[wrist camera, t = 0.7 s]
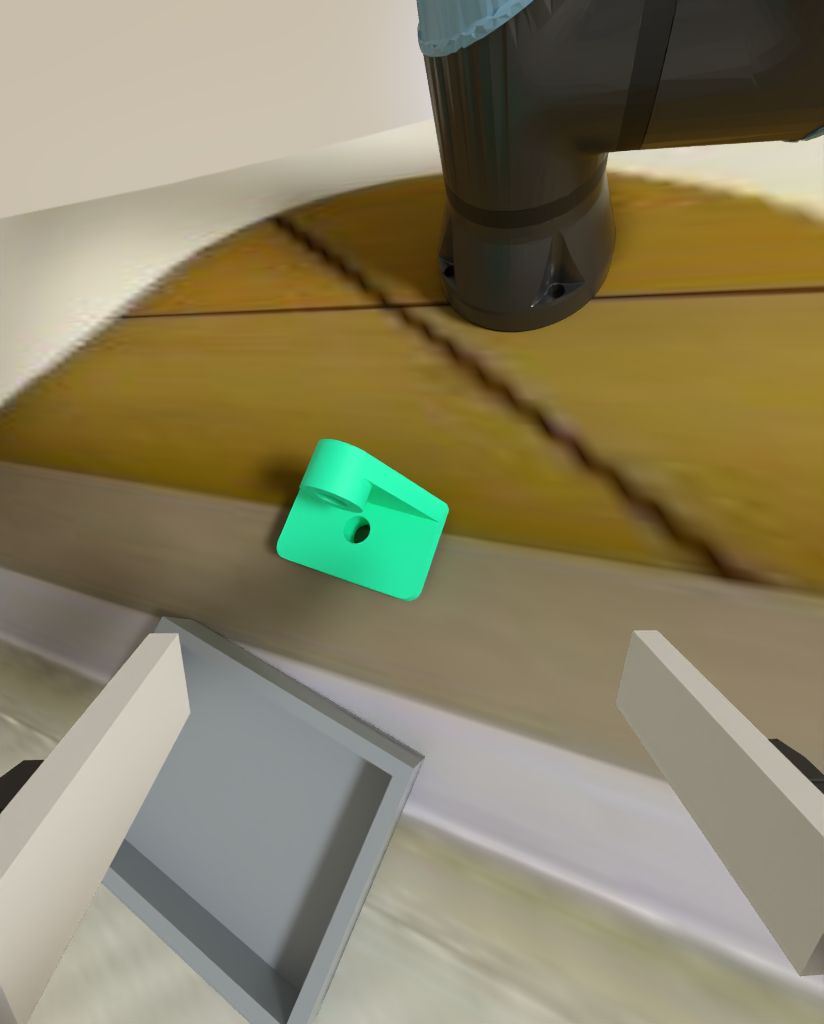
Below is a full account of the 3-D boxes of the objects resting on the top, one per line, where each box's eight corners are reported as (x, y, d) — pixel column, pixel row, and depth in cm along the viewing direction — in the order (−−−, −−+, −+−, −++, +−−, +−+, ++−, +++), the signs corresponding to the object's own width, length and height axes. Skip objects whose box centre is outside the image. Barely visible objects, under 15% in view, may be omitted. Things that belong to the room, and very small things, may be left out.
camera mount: (288, 560, 38) (209, 528, 28) (322, 478, 39) (258, 421, 30) (420, 606, 34) (381, 586, 24) (451, 514, 36) (426, 461, 26)
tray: (193, 619, 38) (162, 616, 34) (425, 756, 30) (413, 768, 27) (88, 811, 35) (43, 828, 31) (317, 1013, 27) (290, 1061, 24)
